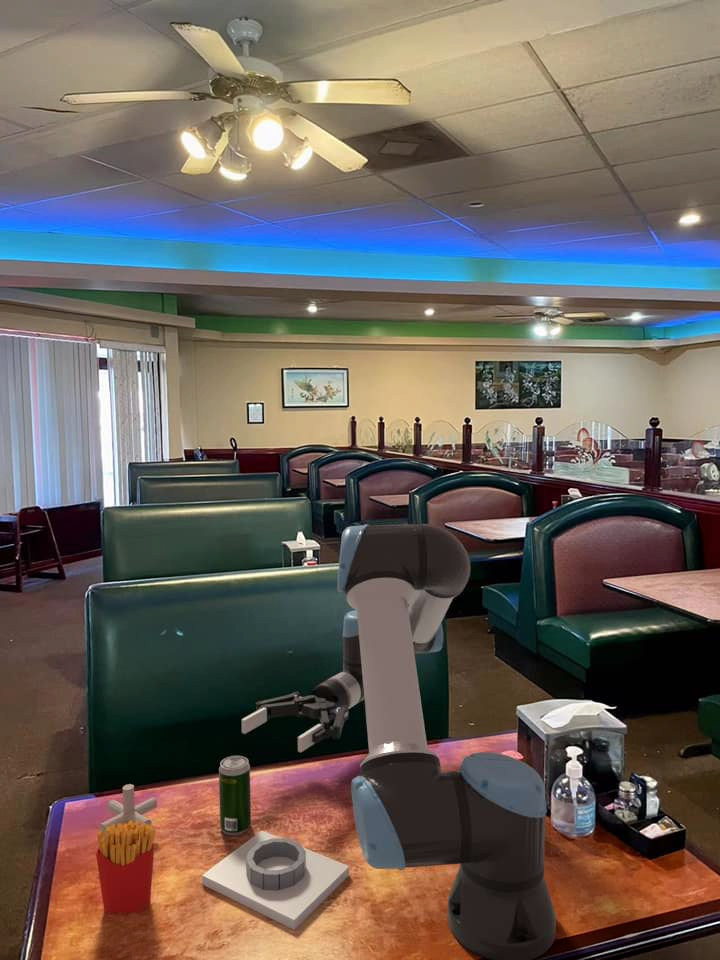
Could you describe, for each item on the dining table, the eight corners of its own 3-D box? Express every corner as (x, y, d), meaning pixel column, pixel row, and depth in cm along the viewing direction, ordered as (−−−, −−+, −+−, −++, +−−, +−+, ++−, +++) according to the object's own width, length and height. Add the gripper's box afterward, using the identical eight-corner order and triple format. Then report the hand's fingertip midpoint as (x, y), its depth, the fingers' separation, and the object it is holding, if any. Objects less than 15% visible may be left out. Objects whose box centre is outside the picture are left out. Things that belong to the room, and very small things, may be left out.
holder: (349, 875, 111) (349, 851, 110) (294, 930, 99) (294, 903, 98) (261, 838, 120) (261, 816, 120) (202, 884, 108) (201, 860, 108)
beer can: (249, 836, 121) (247, 769, 120) (217, 837, 121) (216, 770, 120) (252, 818, 126) (251, 754, 125) (222, 819, 126) (221, 755, 125)
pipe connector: (121, 869, 112) (119, 810, 111) (86, 847, 118) (84, 790, 117) (172, 839, 120) (171, 783, 119) (137, 819, 126) (135, 766, 125)
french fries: (95, 914, 102) (92, 836, 101) (104, 896, 106) (101, 820, 105) (154, 912, 102) (152, 834, 101) (161, 894, 106) (158, 818, 105)
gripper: (385, 727, 142) (325, 773, 125) (289, 700, 156) (221, 737, 138) (385, 691, 142) (324, 732, 124) (288, 667, 155) (221, 701, 137)
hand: (270, 735), depth 131 cm, fingers open, 13 cm apart
